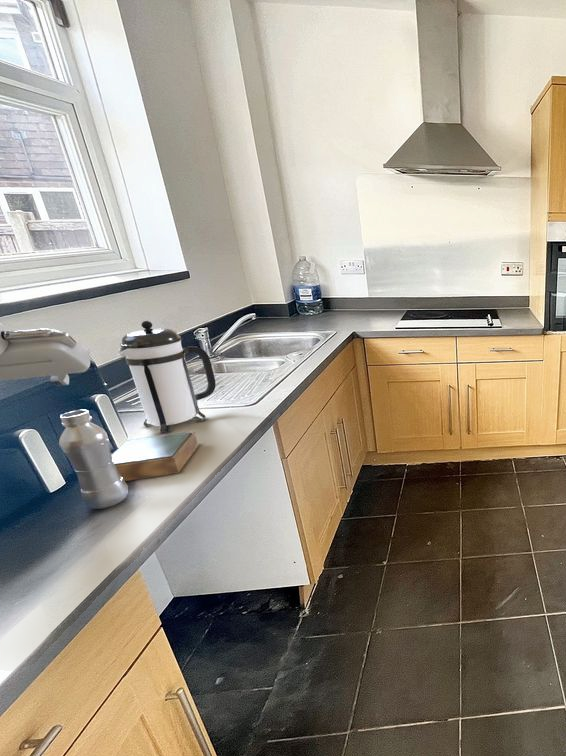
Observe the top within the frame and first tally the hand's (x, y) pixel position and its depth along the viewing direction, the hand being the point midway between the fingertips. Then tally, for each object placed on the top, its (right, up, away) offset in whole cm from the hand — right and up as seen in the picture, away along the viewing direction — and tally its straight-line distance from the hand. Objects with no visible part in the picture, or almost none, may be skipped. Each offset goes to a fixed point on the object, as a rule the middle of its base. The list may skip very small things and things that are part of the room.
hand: (21, 386), depth 64 cm
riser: (-9, -19, +35) cm, 41 cm away
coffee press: (-22, -11, +58) cm, 63 cm away
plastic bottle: (-6, -24, +20) cm, 32 cm away
